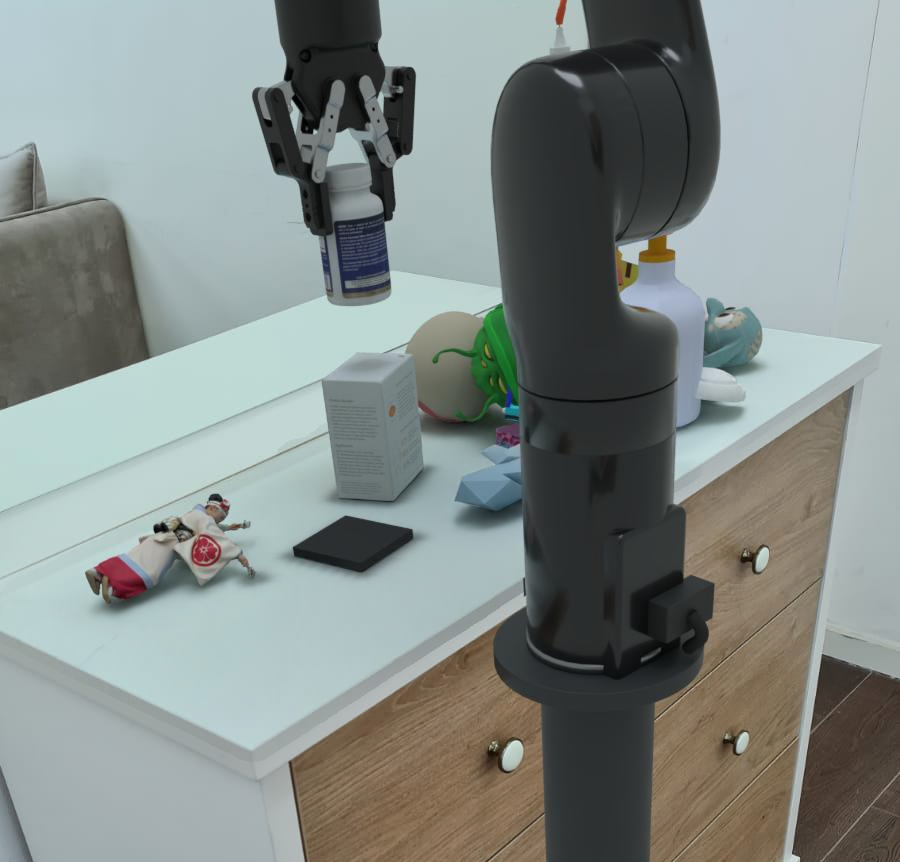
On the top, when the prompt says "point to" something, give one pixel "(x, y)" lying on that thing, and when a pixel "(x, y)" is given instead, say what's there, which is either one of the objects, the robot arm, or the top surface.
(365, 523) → the pad
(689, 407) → the soap bottle
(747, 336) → the stuffed animal
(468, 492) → the polygonal blue rock
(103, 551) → the top surface
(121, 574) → the figurine
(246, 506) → the top surface
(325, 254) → the pill bottle
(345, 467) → the small box
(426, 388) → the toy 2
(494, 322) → the figurine
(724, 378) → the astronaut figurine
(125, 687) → the top surface
